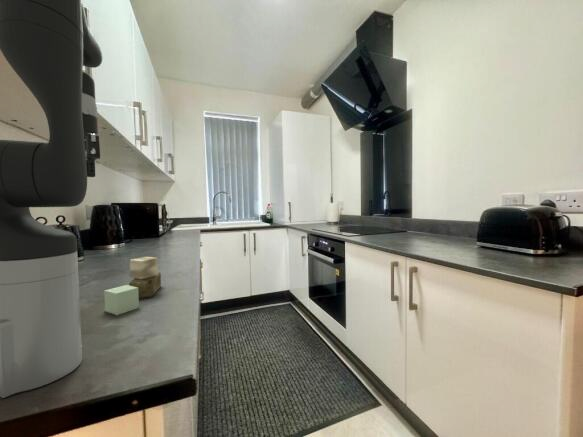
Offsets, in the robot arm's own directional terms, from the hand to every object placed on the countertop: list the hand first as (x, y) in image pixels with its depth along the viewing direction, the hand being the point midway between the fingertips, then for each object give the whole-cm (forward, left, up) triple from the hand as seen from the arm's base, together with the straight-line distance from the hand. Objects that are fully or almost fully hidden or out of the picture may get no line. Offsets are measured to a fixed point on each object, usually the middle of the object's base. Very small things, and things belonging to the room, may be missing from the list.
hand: (81, 178), depth 67 cm
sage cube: (+1, -15, -32) cm, 36 cm away
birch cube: (+11, -7, -27) cm, 30 cm away
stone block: (+12, -7, -33) cm, 35 cm away
